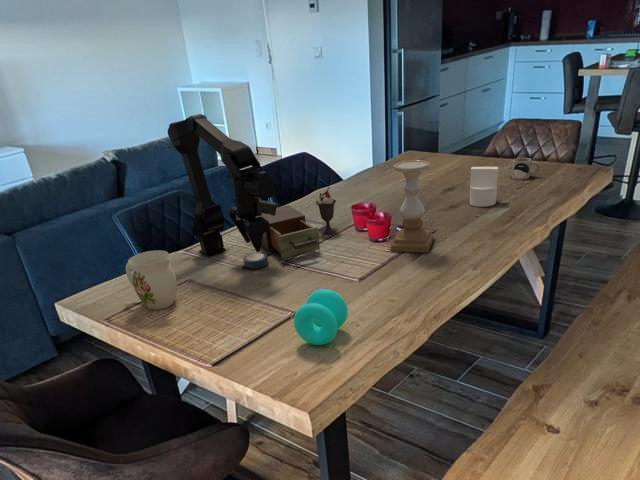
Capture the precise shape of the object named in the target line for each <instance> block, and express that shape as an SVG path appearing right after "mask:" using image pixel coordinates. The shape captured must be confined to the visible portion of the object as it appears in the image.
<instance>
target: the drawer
mask: <svg viewBox="0 0 640 480" xmlns="http://www.w3.org/2000/svg"><path fill="white" fill-rule="evenodd" d="M268 234H269V241H270V245H271V246H272V247H273V248H274V249H275V251H277V252H278V253H279V254H280V257H281V259H286V258H290V257H295V256H299V255H302V254H306V253H310V252H314V251H317V250H321V245H320V236H319V227H318V226H312V225H311V224H309V223H307V222H304V221H303V220H301V219H298V220H293V221H289V222H285V223H281V224H276V225H272V226H270V229H268Z"/></svg>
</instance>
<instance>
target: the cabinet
mask: <svg viewBox="0 0 640 480" xmlns="http://www.w3.org/2000/svg"><path fill="white" fill-rule="evenodd" d="M257 217H261V216H256V218H257ZM262 217H263V218H264V219H266V220H267V221H268V222H269V225H270V226H272V225H276V224H281V223H285V222H289V221H293V220H298V219H301V220H303V221H304V222H306V221H307V219H306V215H305V214H303V213H302V212H300V211H299V210H297V209H296V208H294V207H292V206H291V205H289V204H287V205H283V206H279V207H278V206H277V208H276V213H275V216H273V215H271V214H264V213H262ZM306 223H307V222H306ZM261 247H263V248H264V249H265V250H267V252H271V251H274V250H275V251H276V249H274V248H273V247H272V246H271V245H270V241H269V234H268V231H266V232H265V233H264V234H263V237H262V243H261Z"/></svg>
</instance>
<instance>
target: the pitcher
mask: <svg viewBox="0 0 640 480" xmlns="http://www.w3.org/2000/svg"><path fill="white" fill-rule="evenodd" d="M172 259H173V256H171V255H169V252H168V251H166V250H160V249H159V250H156V249H155V250H148V251H144V252H143V251H142V252H140V253H137V254H135V255H133V256H131V257H130V258H129V259H128V260H127V263H126V264H125V273H126V277H127V279H128V281H129V283H130V285H131V286H132V287H133V288H134V291H135V293H136V295H137V297H138V298H139V300H140V301H141V302H142V303H143V304H144V306H146V307H148V309H150V310H162V309H165V308H168V307H170V306H172V304H173V303H174V301H175V299H176V296H177V290H178V289H177V287H178V285H177V284H178V283H177V276H176V274H175V271H174V268H173V266H172V265H171V263H170V262H171V261H172Z"/></svg>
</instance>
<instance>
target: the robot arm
mask: <svg viewBox="0 0 640 480" xmlns="http://www.w3.org/2000/svg"><path fill="white" fill-rule="evenodd" d="M167 136H168V138H169V139H170V142H171V145H172V147H173V148H174V149H175V150H176V151H177V152H178V153H179V154H180V155H181V158H182V161H183V164H184V167H185V171H186V174H187V179H188V181H189V184H190V187H191V190H192V194H193V197H194V201H195V208H194V212H193V215H194V221H195V222H194V223H193V225H192V227H191V232H192V234H193V236H194V237H197V238H198V241H199V242H198V243H199V246H200V249H199V250H198V251H199V253H200V254H203V255H205V256H207V257H211V256H214V255H217V254H220V253H222V252H226V250H227V249H226V248H225V245H224V240H223V235H222V234H221V232H223V231H224V230H225V229H224V228H225V215H224V213H223V209H222V205H221V204H220V203H218V204H217V203H216V201H214V199H213V197H212V195H211V192H210V188H209V185H208V180H207V178H206V175H205V171H204V167H203V165H202V162H201V161H202V160H201V158H200V154H199V147H200V142H201V139H202V140H203V141H204V142H205V143H206V144H207V145H209V146H210V147H211V148H212V149H213V150H215V151H216V152H217V153H218V155H219V157H220V161H221V162H222V164H223V165H224V166H225V167H226V168H227V169H228V170H229V171H227V173H226V177H227V178H231V183H232V189H233V195H234V197H233V198H232V200H233V202H234V203H235V206H232V207H231V208H230V209H229V210H228V213H229V217H230V219H231V221H232V222H233V224H234V226H235V227H236V229H237V230H238V231H239V233H240V234H241V236H242V238H243V240H244V241H245V243H246V244H250V243H251V244H252V246H253V248H254V250H255V253H261V250H262V245H261V243H262V237H263V234H264V233H265V232H266V231H268V229H270V225H269V222H268V221H267V220H266V219H264V218H263V217H262V213H264V214H271V215H273V216H275V213H276V208H278V203H275V202H274V201H272V200H269V199H271V198H272V197H273V195H274V194H275V191H276V183H275V181H274V179H272V177H270V176H268V172H267V171H263V167H262V166H261V162H260V161H259V160H258V159H257V157H256V155H255V153H254V152H253V150H252V148H251V147H250V146H249V145H248V144H246V143H244V142H243V141H240V140H235V139H232V138H230V136H228V135H226V134H225V133H224V132H223V131H222V130H221V129H219V128H218V127H217V126H216V125H214V123H212V122H211V121H210V120H209V119H208V117H207V116H206V115H205V114H202V113H198V114H194V115H190V116H188V117H187V118H185V119H183V120H178V121H174V122H170V123H169V125H168V128H167ZM256 216H261V217H257V218H256Z"/></svg>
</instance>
